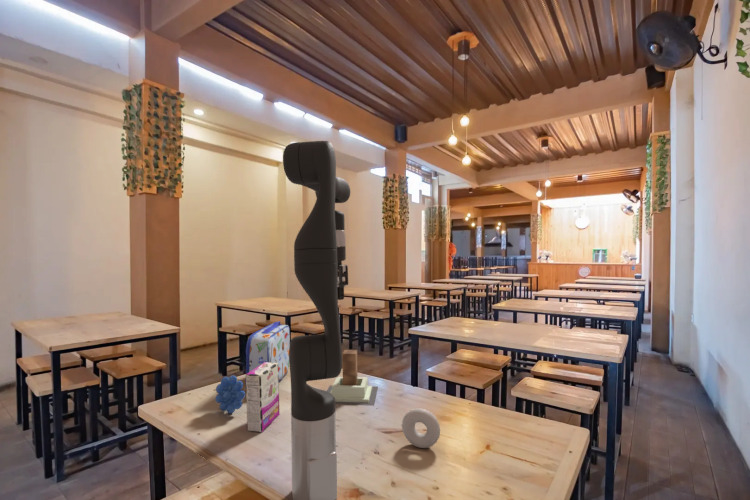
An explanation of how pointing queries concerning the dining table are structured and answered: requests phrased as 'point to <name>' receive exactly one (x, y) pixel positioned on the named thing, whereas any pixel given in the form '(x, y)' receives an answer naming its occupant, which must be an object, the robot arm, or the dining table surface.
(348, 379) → the walnut block
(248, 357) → the lunch box
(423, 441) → the donut
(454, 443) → the dining table surface
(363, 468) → the dining table surface
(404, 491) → the dining table surface
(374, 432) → the dining table surface
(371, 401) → the mat
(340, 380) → the holder
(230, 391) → the grapes
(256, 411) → the candy bar box
